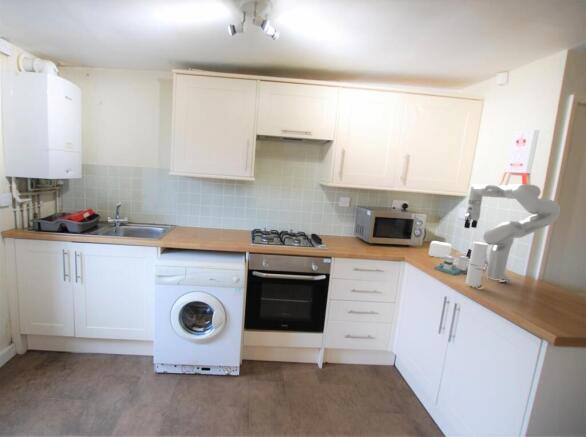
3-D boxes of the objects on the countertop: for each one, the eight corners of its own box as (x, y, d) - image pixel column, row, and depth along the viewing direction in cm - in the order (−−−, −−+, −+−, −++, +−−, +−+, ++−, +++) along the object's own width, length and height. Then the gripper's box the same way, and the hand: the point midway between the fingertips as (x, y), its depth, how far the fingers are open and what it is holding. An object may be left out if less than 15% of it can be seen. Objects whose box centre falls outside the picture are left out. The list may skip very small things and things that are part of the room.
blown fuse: (451, 272, 193) (454, 257, 191) (448, 272, 191) (450, 257, 189) (445, 270, 196) (448, 255, 195) (442, 270, 194) (444, 256, 192)
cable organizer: (426, 256, 233) (429, 241, 231) (429, 253, 241) (431, 239, 240) (448, 260, 224) (450, 245, 223) (450, 258, 233) (452, 243, 231)
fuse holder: (469, 274, 194) (470, 269, 194) (463, 275, 190) (464, 271, 189) (445, 266, 207) (445, 262, 207) (438, 267, 203) (439, 263, 202)
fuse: (465, 272, 194) (468, 257, 193) (462, 273, 192) (465, 257, 190) (459, 270, 197) (462, 255, 196) (456, 271, 195) (459, 256, 194)
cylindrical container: (466, 282, 177) (474, 241, 173) (480, 285, 173) (488, 243, 169) (464, 285, 172) (472, 242, 168) (478, 288, 167) (487, 245, 163)
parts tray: (459, 274, 191) (460, 270, 191) (452, 276, 186) (453, 271, 186) (441, 268, 201) (442, 264, 200) (434, 270, 196) (434, 265, 195)
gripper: (474, 203, 194) (469, 229, 197) (486, 203, 204) (481, 228, 207) (462, 201, 200) (458, 227, 203) (475, 202, 210) (470, 226, 213)
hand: (470, 227), depth 205 cm, fingers open, 9 cm apart
